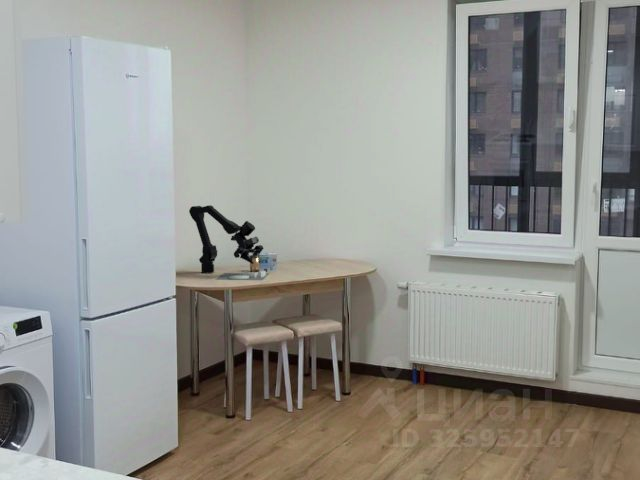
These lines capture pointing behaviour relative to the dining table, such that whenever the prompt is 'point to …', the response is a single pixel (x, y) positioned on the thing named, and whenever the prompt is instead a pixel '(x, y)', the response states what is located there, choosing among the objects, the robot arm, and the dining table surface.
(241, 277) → the sage pad
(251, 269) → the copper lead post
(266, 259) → the light bulb box
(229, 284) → the dining table surface
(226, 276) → the charcoal mat
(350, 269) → the dining table surface
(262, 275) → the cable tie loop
